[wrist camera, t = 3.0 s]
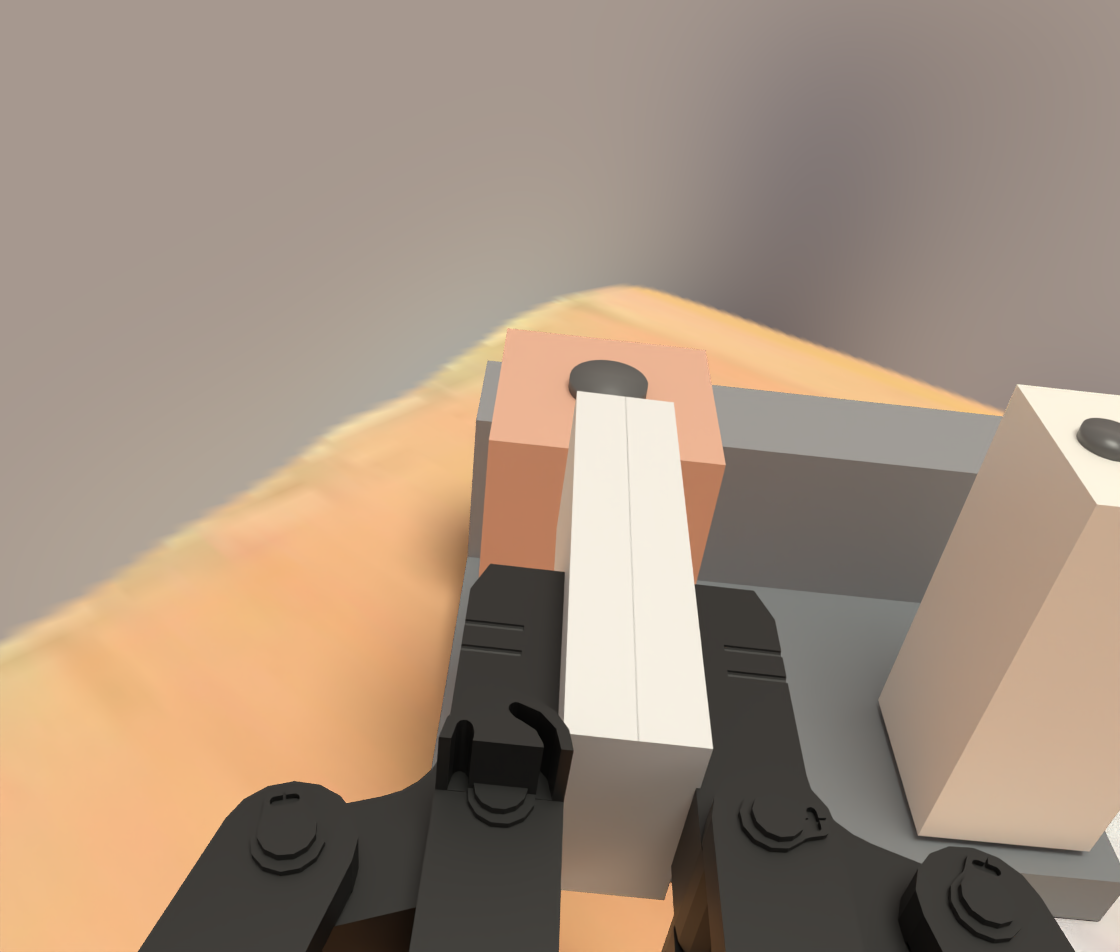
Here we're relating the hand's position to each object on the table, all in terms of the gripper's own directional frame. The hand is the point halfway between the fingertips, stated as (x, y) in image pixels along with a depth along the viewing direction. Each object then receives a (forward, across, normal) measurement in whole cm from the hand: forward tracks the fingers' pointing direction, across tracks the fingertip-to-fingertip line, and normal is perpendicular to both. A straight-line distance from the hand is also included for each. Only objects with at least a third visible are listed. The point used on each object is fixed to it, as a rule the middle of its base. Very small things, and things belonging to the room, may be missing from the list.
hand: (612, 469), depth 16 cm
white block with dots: (+7, +13, -14) cm, 21 cm away
